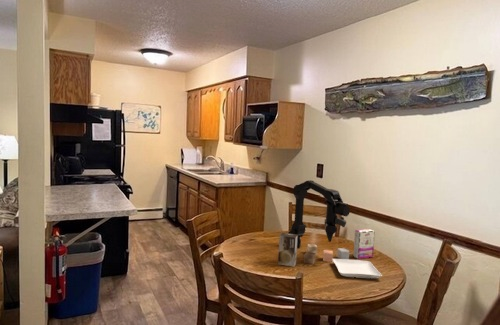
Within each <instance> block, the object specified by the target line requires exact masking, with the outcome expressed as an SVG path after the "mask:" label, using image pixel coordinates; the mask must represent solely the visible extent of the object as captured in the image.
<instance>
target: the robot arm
mask: <svg viewBox="0 0 500 325" xmlns="http://www.w3.org/2000/svg"><path fill="white" fill-rule="evenodd" d="M309 190H312V191H314V192H316V193H318V194H320V195H322V196H323V198H324V199H325V201H324V202H323V204H326V213H325V219H324V229H325V230H324V232H325V235H326V237H327V241H328V243H331V242H332V240H333V236H334V234H335V233H337V232H338V226H337V225H339V226H341V227H342V228H345V227H346V225H347V221H346V220H345V217H348V216H349V215H350V212H351V209H350V207H349V204H348V203H344V201H343V199H342V197H341V194H340V192H339V190H336V189H332V188H327V187H326V186H324V185H321V184H319V183H317V182H315V181H314V180H311V179H309V180H306V181H304V182H301V183H299V184H296V185H294V186H293V195H294V198H295V206H294V207H295V208H294V210H295V211H294V222H293V223H292V224H291V227H290V228H291V229H290V231H289V232H287V233H289V234H296V235H298V240H297V249H300V247H302V246H301V244H302V239H301V238H303V236H304V234H306V233H305V232H306V224H304V221H303V219H304V204H305V198H306V197H307V194H308V191H309ZM338 216H340V217H338Z"/></svg>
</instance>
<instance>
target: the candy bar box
mask: <svg viewBox="0 0 500 325" xmlns="http://www.w3.org/2000/svg"><path fill="white" fill-rule="evenodd" d="M375 233H376V232H375V230H373V229H371V228H365V229H355V230H354V239H353V240H354V241H353V254H352V255H353V256H354V257H353V258H355V259H356V260H362V258H364V259H370V258H369V257H373V258H374V249H375V246H374V245H375V235H376V234H375Z"/></svg>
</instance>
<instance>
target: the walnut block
mask: <svg viewBox="0 0 500 325" xmlns="http://www.w3.org/2000/svg"><path fill="white" fill-rule="evenodd" d="M316 256H317V255H316V253H312V252H307V251H306V252H305V253H304V255H303V257H304V258H303V263H304V264H308V265H314V264H315V263H316Z"/></svg>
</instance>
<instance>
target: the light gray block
mask: <svg viewBox="0 0 500 325" xmlns="http://www.w3.org/2000/svg"><path fill="white" fill-rule="evenodd" d="M350 252H351V251H350V250H348V249H347V248H337V250H336V257H337V259H348V260H350Z"/></svg>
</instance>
